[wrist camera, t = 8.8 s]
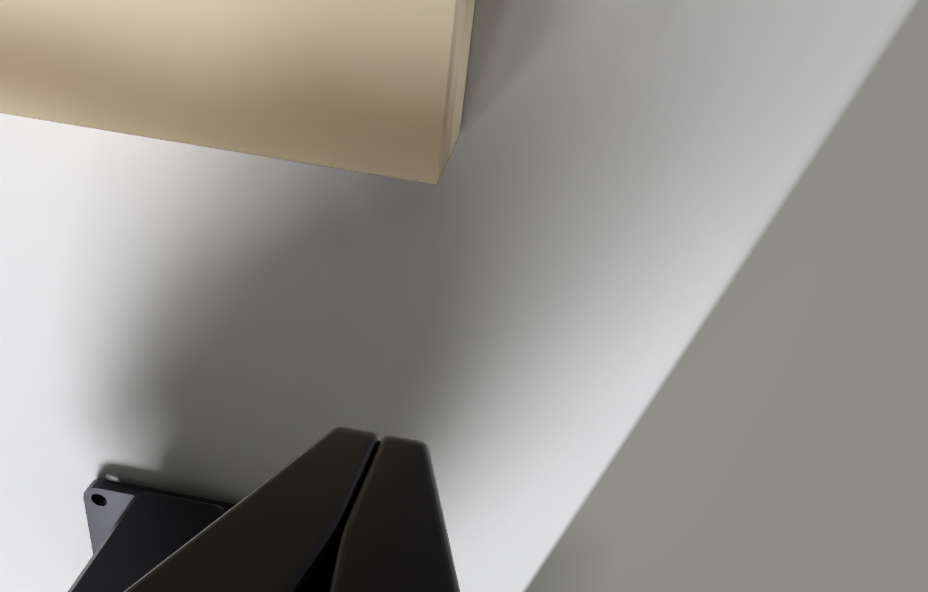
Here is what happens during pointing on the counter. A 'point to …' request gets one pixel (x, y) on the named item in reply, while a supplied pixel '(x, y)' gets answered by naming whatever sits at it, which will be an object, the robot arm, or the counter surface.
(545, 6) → the counter surface
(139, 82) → the panel
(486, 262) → the counter surface
